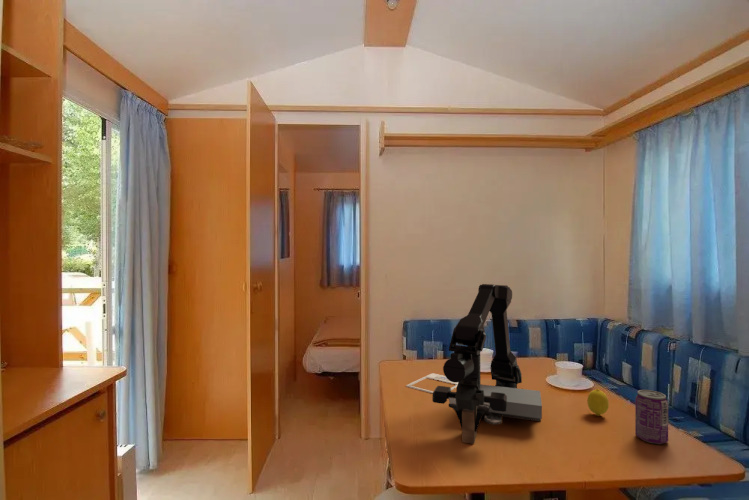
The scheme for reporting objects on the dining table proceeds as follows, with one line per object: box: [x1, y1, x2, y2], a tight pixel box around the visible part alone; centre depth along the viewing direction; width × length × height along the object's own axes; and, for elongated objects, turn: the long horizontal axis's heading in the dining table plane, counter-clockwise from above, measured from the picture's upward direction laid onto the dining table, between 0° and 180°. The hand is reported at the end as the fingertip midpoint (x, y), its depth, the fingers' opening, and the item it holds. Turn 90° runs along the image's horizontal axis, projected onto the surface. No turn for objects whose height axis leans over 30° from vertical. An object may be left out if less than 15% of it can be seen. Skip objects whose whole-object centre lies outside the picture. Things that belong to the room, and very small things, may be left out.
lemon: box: [587, 388, 609, 417], centre depth 121 cm, size 6×6×8 cm
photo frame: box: [405, 372, 458, 394], centre depth 149 cm, size 15×1×18 cm
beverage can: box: [634, 389, 669, 445], centre depth 106 cm, size 7×7×12 cm
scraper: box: [461, 406, 478, 445], centre depth 113 cm, size 3×18×8 cm, turn 160°
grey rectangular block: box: [477, 383, 543, 422], centre depth 119 cm, size 20×12×8 cm, turn 70°
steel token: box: [483, 413, 503, 425], centre depth 118 cm, size 5×5×2 cm
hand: (469, 430), depth 107 cm, fingers closed on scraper, 3 cm apart
